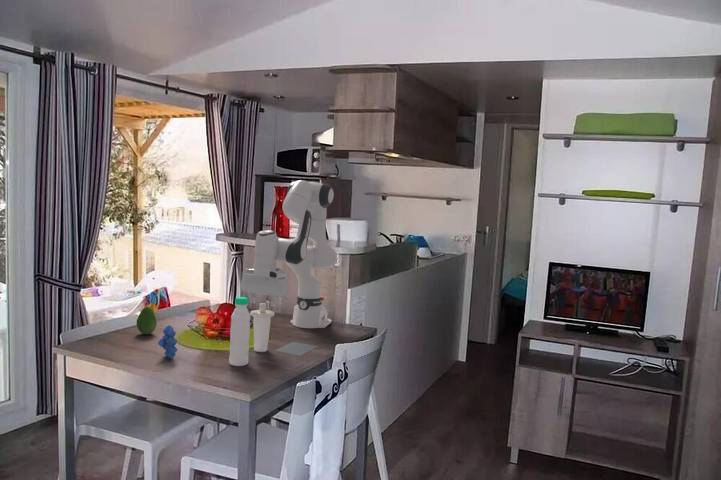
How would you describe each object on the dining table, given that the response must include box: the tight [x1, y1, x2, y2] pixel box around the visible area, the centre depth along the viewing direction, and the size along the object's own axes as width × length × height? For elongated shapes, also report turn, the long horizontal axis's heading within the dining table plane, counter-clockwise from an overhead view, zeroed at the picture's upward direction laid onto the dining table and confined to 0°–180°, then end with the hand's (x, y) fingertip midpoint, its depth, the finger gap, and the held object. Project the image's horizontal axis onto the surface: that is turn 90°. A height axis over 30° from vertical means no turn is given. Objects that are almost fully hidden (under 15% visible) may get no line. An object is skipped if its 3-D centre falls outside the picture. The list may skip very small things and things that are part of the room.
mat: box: [273, 341, 318, 357], centre depth 227 cm, size 16×12×1 cm
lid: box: [249, 302, 275, 318], centre depth 220 cm, size 10×10×4 cm
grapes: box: [157, 324, 178, 360], centre depth 205 cm, size 12×7×12 cm, turn 35°
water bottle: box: [228, 296, 252, 367], centre depth 203 cm, size 7×7×25 cm
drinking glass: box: [252, 317, 272, 353], centre depth 221 cm, size 7×7×15 cm
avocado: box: [136, 306, 157, 336], centre depth 235 cm, size 8×8×12 cm
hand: (262, 304), depth 220 cm, fingers open, 8 cm apart
